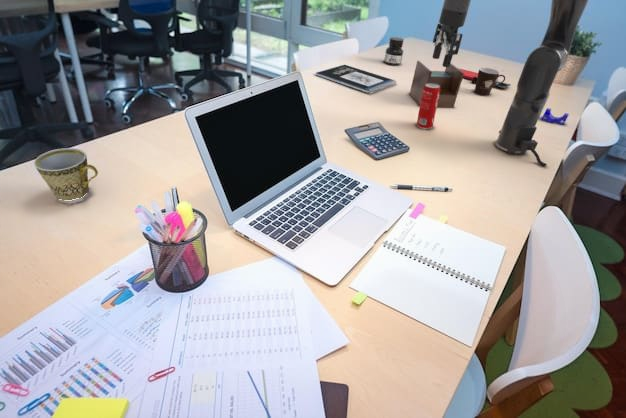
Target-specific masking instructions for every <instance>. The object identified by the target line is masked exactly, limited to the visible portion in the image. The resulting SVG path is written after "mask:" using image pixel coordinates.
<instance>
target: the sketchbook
mask: <svg viewBox="0 0 626 418" xmlns="http://www.w3.org/2000/svg"><path fill="white" fill-rule="evenodd" d="M315 76H317V77H320V78H323V79H326V80H329V81H331V82H334V83H337V84H340V85H343V86H346V87H349V88H352V89H353V90H354V89H355V90H357V91H360V92H364V93H366V94H367V95H368V94H369V95H371V94H374V93H376V92H378V91H381V90H383V89H386V88H389V87H391V86H394V85H396V84H397V80H396V79H392V78H389V77H386V76H381V75H379V74H376V73H373V72H371V71H367V70H364V69H361V68H357V67H355V66H351V65H347V64H341V65H339V66H334V67H331V68H327V69H323V70H320V71H317V72H315Z"/></svg>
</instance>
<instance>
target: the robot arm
mask: <svg viewBox="0 0 626 418" xmlns="http://www.w3.org/2000/svg"><path fill="white" fill-rule="evenodd" d="M471 1H472V0H443V5H442V8H441V11H440V15H439V19H438V23H437V25H436V28H435V32H434V35H433V39H432V44H433V45H434V49H433V53H432V59H434V60H439V59H440V57H441V53H442V50H443V47H444V48H445V55H444V56H443V61H442V64H441V65H442V67H443V68H446V67H449V66H450V63H451V64H452V60H453V57H454V56H455V55H456V56H457V55H458V54H459V51H460V47H461V42H462V39H463V33H459V28H462V27H464V25H465V22H466V18H467V15H468V11H469V9H470V5H471ZM588 2H589V0H551V2H550V3H551V5H550V15H549V16H550V17H549V21H548V24H547V25H548V26H547V28H546V31H545V34H544V36H543V39H542V40H541V43H540V45H539V46H538V47H536V48H534V49H533V50H532V51H531V52H530V53H529V55H528V56H527V58H526V61H525V62H524V65H523V67H522V70H521V73H520V76H519V79H518V81H517V84H516V91H515V94H514V96H513V99H512V101H511V104H510V107H509V109H508V111H507V114H506V116H505V118H504V120H503V124H502V126H501V129H500V130H499V131H498V137H497V139H496V140H495V144H494V145H495V146H496V148H497V149H500V150H501V151H503V152H506V153H507V154H509V155H514V154H515V155H526V153H527V151H530V152H531V153H532V154H533V155H534V157H535V160H536V161H537V163H538V164H539V165H540V166H541V167H542V166H543V167H547V166H548V164H547V163H546V162H543V161H542V160H541V157H540V155H539V154H538V152H537V151H536V148H537V146H538V144H539V142H538V141H536V140H535V139H533V137H534V135H535V134H536V131H537V129H538V128H537V124H538V121H539V119H540V117H541V115H542V112H543V111H544V108H545V106H546V103H547V102H548V100H549V97H550V91H551V87H552V85H553V83H554V80H555V79H556V76H557V74H558V73H560V72H561V70H562V69H563V68H564V67H565V66H566V64H567V61H568V59H569V55H570V51H571V49H572V48H571V47H572V44H573V40H574V37H575V33H576V29H577V27H578V25H579V23H580V20H581V18H582V16H583V14H584V11H585V9H586V7H587V5H588Z"/></svg>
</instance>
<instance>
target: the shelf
mask: <svg viewBox="0 0 626 418" xmlns="http://www.w3.org/2000/svg"><path fill="white" fill-rule="evenodd" d="M458 68H459V67H457V66H455V65H454V64H452V62H451V63H450V66H449V67H445V69H444V70H431V69H430V68H428V67H427V66H426V65H425V64H424V63H423V62H421V61H420V60H417V61H416V65H415V69H414V73H413V77H412V82H411V86H410V89H409V96H411V98H412V99H413V100H414V101H415V102H416V104H418V105H419V106H420V103H421V97H422V92H423V88H424V86H425V84H426V83H435V84H438V85H440V95H439V99H438V104H437V108H449V109H450V108H451V109H453V108H454V107H455V104H456V100H457V97H458V94H459V91H460V88H461V85H462V82H463V75H464V73H463V72H462V71H461V70H459V69H460V68H459V69H458Z"/></svg>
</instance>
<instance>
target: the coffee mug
mask: <svg viewBox="0 0 626 418" xmlns="http://www.w3.org/2000/svg"><path fill="white" fill-rule="evenodd" d="M477 73H478V77H477V82H476V84H475V88H474V91H473V92H474V94H476V95H479V96H483V97H488V96H489V95H490V93H491V92H492V89H493V88H496V87H499V86H498V85H500V84H502V83H505V81H506V76H505V75H504V74H500V71H499V70H497V69H495V68H491V67H479V69H478V71H477ZM500 77H503V80H502V81H500V82H501V83H499V84H497V85H494V83H495V81H496V79H497V78H498V79H499V78H500Z"/></svg>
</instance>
